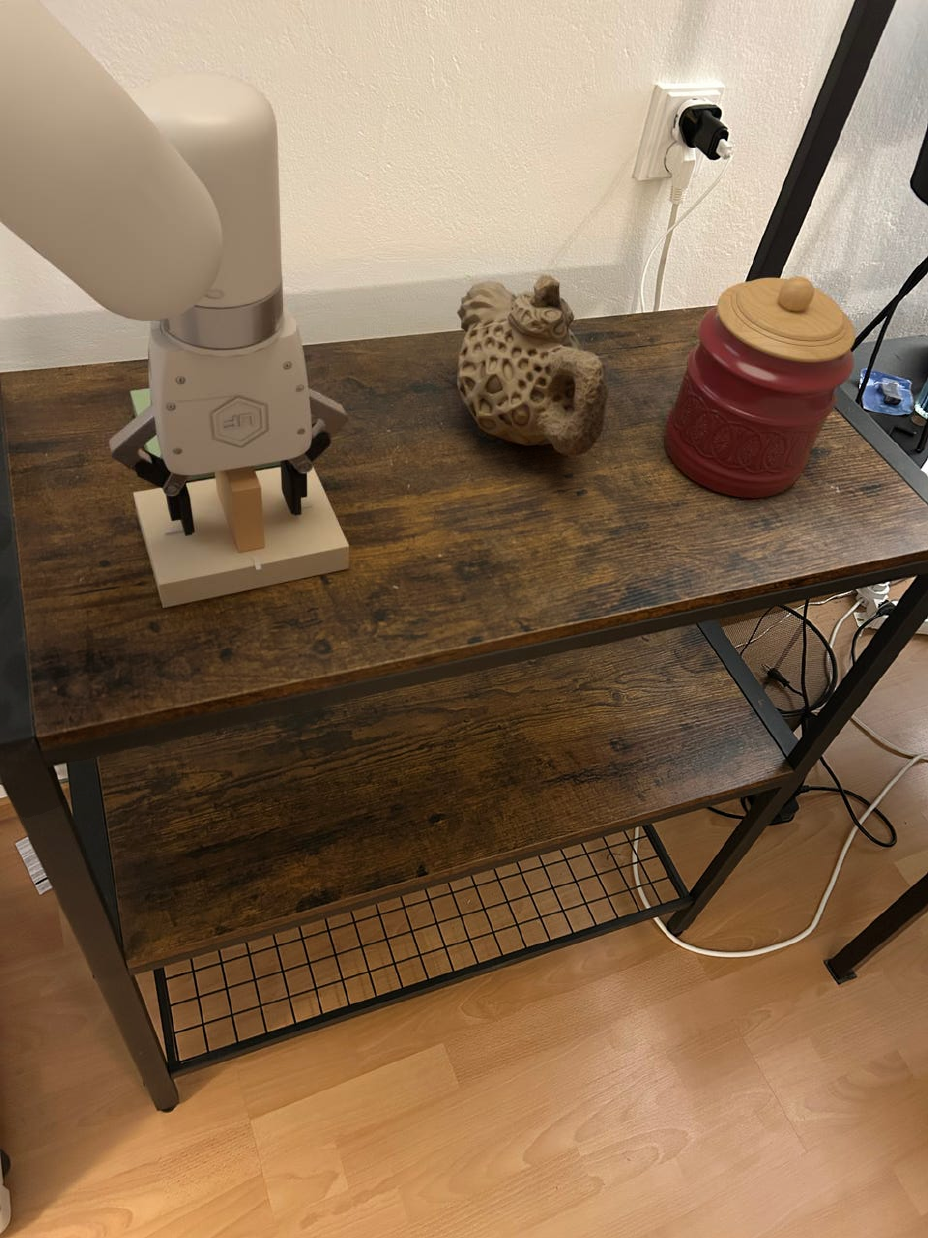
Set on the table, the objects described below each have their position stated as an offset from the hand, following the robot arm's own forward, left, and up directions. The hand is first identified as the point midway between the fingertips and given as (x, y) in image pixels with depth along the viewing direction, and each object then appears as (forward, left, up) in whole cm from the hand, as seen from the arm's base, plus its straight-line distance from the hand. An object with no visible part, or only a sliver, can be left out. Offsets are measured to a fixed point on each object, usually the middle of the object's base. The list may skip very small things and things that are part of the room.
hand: (239, 511), depth 73 cm
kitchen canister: (+45, -1, -3) cm, 45 cm away
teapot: (+27, +7, -3) cm, 28 cm away
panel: (0, 0, -3) cm, 3 cm away
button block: (+1, +13, -3) cm, 13 cm away
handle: (0, 0, -1) cm, 1 cm away
